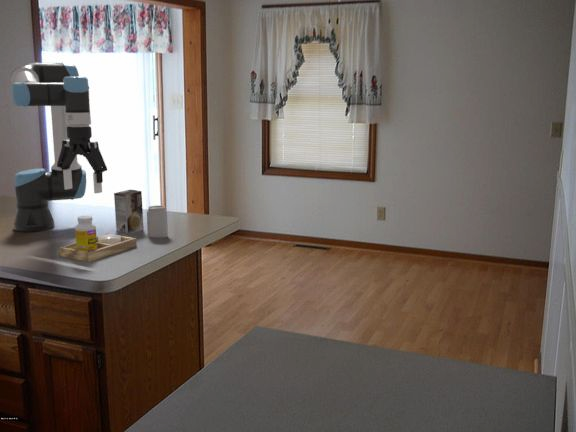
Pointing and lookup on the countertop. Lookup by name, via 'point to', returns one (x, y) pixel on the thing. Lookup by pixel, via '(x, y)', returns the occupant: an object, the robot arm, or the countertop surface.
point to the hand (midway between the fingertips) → (83, 190)
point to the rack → (101, 250)
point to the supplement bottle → (85, 234)
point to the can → (157, 221)
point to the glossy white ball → (109, 239)
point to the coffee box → (129, 211)
